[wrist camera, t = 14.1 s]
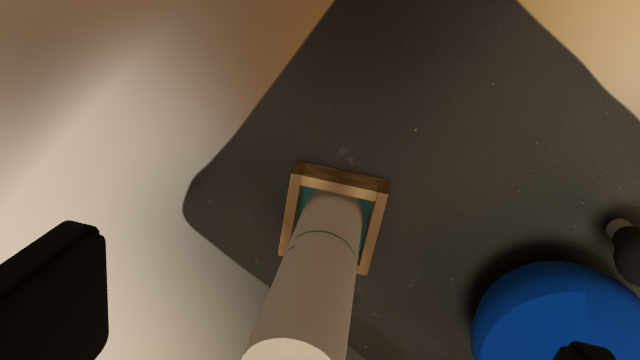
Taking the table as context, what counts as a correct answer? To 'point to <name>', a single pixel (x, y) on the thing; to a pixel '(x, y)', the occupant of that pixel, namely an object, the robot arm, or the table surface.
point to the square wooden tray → (341, 182)
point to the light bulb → (626, 249)
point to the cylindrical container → (312, 285)
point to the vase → (555, 313)
